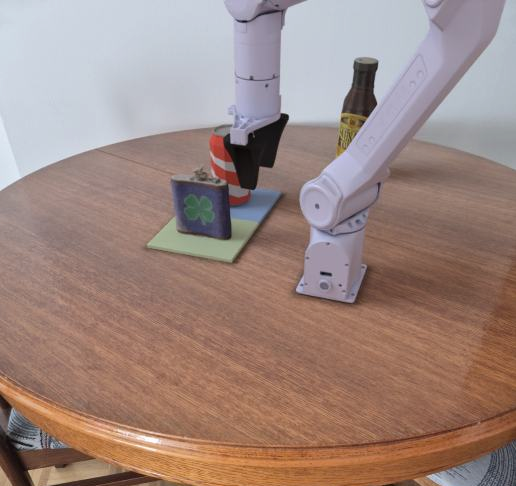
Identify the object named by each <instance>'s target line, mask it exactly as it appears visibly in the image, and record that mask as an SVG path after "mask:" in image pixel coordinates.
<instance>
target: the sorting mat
mask: <svg viewBox="0 0 516 486" xmlns="http://www.w3.org/2000/svg"><path fill="white" fill-rule="evenodd" d="M250 191H251V196H250V198H249V199H248V201H246V202H244V203H243V204H241V205H238V206H230V217H231V225H232V226H231V228H232V235H231V236H232V237H231V238H230V240H224V241H221V240H218V239H214V238H208V237H197V236H194V235H190V234H187V235H186V234H182V233H180V232H177V229H176V219H175V215H174V216H173V218H171V219H170V220H169V221H168V223H166V224H165V225H164V226H163V227H162V229H160V231H158V232H157V233H156V235H154V236H153V237H152V238H151V240H149V241H148V242H147V243H146V248H148V249H153V250H159V251H163V252H169V253H175V254H181V255H185V256H190V257H195V258H196V257H197V258H202V259H207V260H214V261H219V262H224V263H230V264H232V263H233V262H234V261H235V259H237V256H238V255H239V254H240V252H241V251H242V250H243V248H244V247H245V246H246V244H247V243H248V241H250V239H251V238H252V236H253V235H254V233H255V232H256V230H257V229H258V228H259V227H260V225H261V224H262V222H263V221H264V219H265V218H266V217H267V216H268V214H269V212H270V211H271V210H272V208H273V207H274V206H275V204H276V202H278V201H279V199H280V197H281V196H282V193H283V192H282V191H280V190H274V189H267V188H260V187H256V189H255V190H250Z"/></svg>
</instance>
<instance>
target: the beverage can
mask: <svg viewBox="0 0 516 486" xmlns="http://www.w3.org/2000/svg"><path fill="white" fill-rule="evenodd" d="M232 126H233V123H231V124H230V123H229V124H220V125H217V126H215V127H213V129H212V131H211V132H212V135H211V136H210V137H209V138H210V139H209V141H208V143H209V153H210V154H209V155H210V167H211V168H210V169H211V177H213V178H215V177H219V178H220V179H222V180H226V181H227V182H228V187H229V202H230V206H238V205H241V204H243V203H244V202H246V201H248V199H249V198H250V196H251V191H250V190H249V189H242V188H241V187H240V184H239V181H238V177H237V174H236V170H235V167H234V164H233V161H232V159H231V157H230V155H229V153H228V152H227V150H226V149H225V147H224V145H223V138H224V137H225V136H226V135H227V134H228V133H229V134H230V128H231V127H232Z"/></svg>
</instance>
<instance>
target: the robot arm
mask: <svg viewBox="0 0 516 486" xmlns="http://www.w3.org/2000/svg"><path fill="white" fill-rule="evenodd" d="M307 1H308V0H223V3H224V6H225V8H226V10H227V12H228V13H229V15H230V16H231V17H232V18H233V19H232V20H233V21H232V22H233V52H234V53H233V55H234V56H233V57H234V58H233V59H234V61H233V62H234V86H235V87H234V89H235V104H231V105H230V106H229V107H228V108H227V115H229V116H233V123H232V124H233V126H232V127H231V128H230V134H229V133H228V134H227V135H226V136H225V137H224V138H223V145H224V147H225V149H226V150H227V152H228V153H229V155H230V157H231V159H232V161H233V164H234V167H235V170H236V174H237V177H238V181H239V184H240V187H241V188H242V189H249V190H255V189H256V188H257V185H258V182H259V175H260V167H261V168H267V169H273V167H274V165H275V162H276V158H277V154H278V150H279V145H280V142H281V138H282V136H283V133H284V130H285V128H286V126H287V124H288V122H289V120H290V115H289V114H288V113H286V112H285V113H284V112H281V110H282V94H280V88H281V87H280V85H281V54H282V53H281V52H282V51H281V49H282V30H283V29H284V27H285V25H286V23H285V22H286V13H287V10H288V9H289V8H292V7H294V6H296V5H299V4H301V3H303V2H307ZM506 1H507V0H421V2H422V4H423V7H424V9H425V12H426V14H427V17H428V23H429V24H428V25H429V28H428V31H427V33H426V34H425V36H424V37H423V38H422V40H421V41H420V43H419V44H418V46H417V47H416V49H415V50H414V52H413V53H412V54H411V55H410V57H409V59H408V60H407V61H406V63H405V65H404V66H402V69H401V70H400V72H399V73H398V74H397V76H396V77H395V79H394V80H393V81H392V83H391V85H389V87H388V89H387V90H386V92H385V93H384V95H383V96H382V97H381V99H380V100H379V101H378V102H377V106H376V107H375V109H374V110H373V112H372V113H371V115H370V116H369V117H368V119H367V120H366V122H365V123H364V125H363V126H362V127H361V129H360V130H359V132H358V133H357V135H356V136H355V138H354V139H353V140H352V142H351V143H350V145H349V146H348V148H347V149H346V150H345V151H344V152H343V153H342V154H341V155H340V156H339V157H338V158H336V157H335V158H336V159H334V160H333V161H331V162H329V164H328V165H327V166H325V168H324V169H322V171H321V172H320V174H319V175H318V176H317V177H316V178H313V179H310V180H308V181H307V182H306V183H304V185H302V187H301V190H300V192H299V207H300V209H301V212H302V215H303V216H304V218H305V220H306V221H307V224H308V225H309V226H310V232H309V244H308V246H307V248H306V250H305V253H304V265H303V266H304V267H303V274H302V277H301V278H300V281H299V282H298V284H297V286H296V288H295V292H296V293H297V294H301V295H306V296H312V297H316V298H321V299H327V300H332V301H336V302H337V301H338V302H344V303H349V304H353V303H355V302H356V299H357V296H358V293H359V291H360V287H361V285H362V282H363V280H364V277H365V275H366V272H367V270H368V265H367V264H366V263H363V255H364V246H365V240H366V232H367V231H366V230H367V223H368V217H369V216H370V212H371V207H372V206H374V205H375V204H376V203H377V202H378V201H379V199H380V198H381V197H382V196H381V195H382V192H383V187H384V184H385V182H386V180H387V179H388V178H389V177H390V175H391V171H390V166H391V165H392V164H393V163H394V161H395V160H396V159H397V158H398V157H399V156H400V154H401V153H402V152H403V151H404V149H405V148H406V147H407V145H408V144H409V143H410V142H411V141H412V139H413V138H414V137H415V136H416V134H417V133H418V132H420V129H422V127H423V126H424V125H425V124H426V123H427V122H428V121H429V119H430V118H431V116H432V115H433V114H434V113H435V112H436V110H437V109H438V108H439V106H441V104H442V103H443V102H444V100H445V99H446V98H447V97H448V95H449V94H451V92H452V91H453V89H454V88H455V87H457V84H458V83H459V82H460V81H461V80H462V79H463V78H464V76H465V75H466V73H468V71H469V70H470V69H471V67H472V66H473V65H474V64H475V62H477V60H478V59H479V58H480V57H481V55H482V54H483V53H484V52H485V50H486V49H487V48H488V47H489V45H490V44H491V43H492V41H493V40H494V38H495V37H496V35H497V33H498V30H499V26H500V23H501V19H502V15H503V12H504V8H505V4H506Z"/></svg>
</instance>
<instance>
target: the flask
mask: <svg viewBox="0 0 516 486" xmlns="http://www.w3.org/2000/svg"><path fill="white" fill-rule="evenodd" d="M204 168H205V165H203V164H200V165H197V166H196V167H195V168H193V169H192V170H191V171H192V172H193V173H194V174H185V173H178V174H173V175H171V177H170V181H169V183H170V187H171V192H172V193H171V194H172V201H173V210H174V211H173V212H174V216H175V219H176V229H177V232H180V233H182V234H186V235H187V234H190V235H194V236H197V237H208V238H214V239H218V240H221V241H224V240H230V238H231V237H232V236H231V235H232V228H231V226H232V225H231V217H230V202H229V187H228V182H227V181H226V180H222V179H220V178H219V177H215V178H213V177H212V176H210V175H209V173H208V172H206V171H204Z"/></svg>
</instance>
